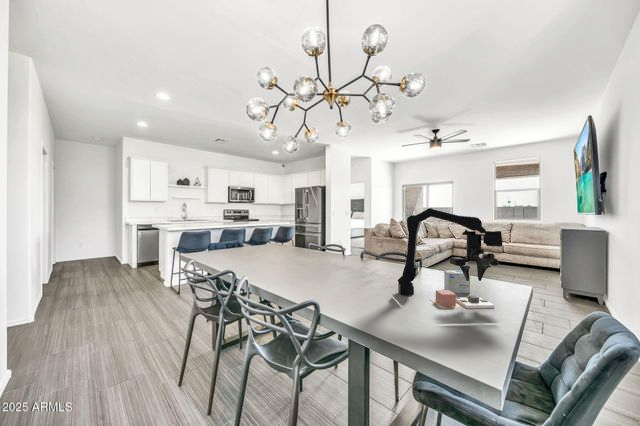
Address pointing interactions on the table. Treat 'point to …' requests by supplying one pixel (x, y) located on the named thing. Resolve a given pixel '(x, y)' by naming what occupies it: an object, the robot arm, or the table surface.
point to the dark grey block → (473, 299)
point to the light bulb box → (456, 282)
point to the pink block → (446, 298)
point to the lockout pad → (446, 306)
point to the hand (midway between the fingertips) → (473, 280)
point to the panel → (469, 304)
